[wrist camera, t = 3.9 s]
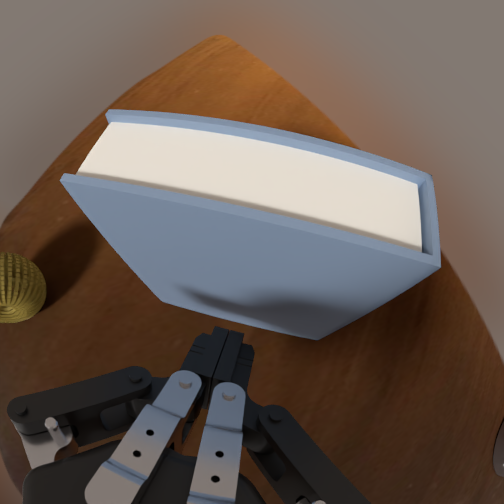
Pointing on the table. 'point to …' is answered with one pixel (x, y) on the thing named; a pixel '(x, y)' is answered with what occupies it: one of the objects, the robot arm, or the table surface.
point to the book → (257, 219)
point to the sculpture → (20, 288)
